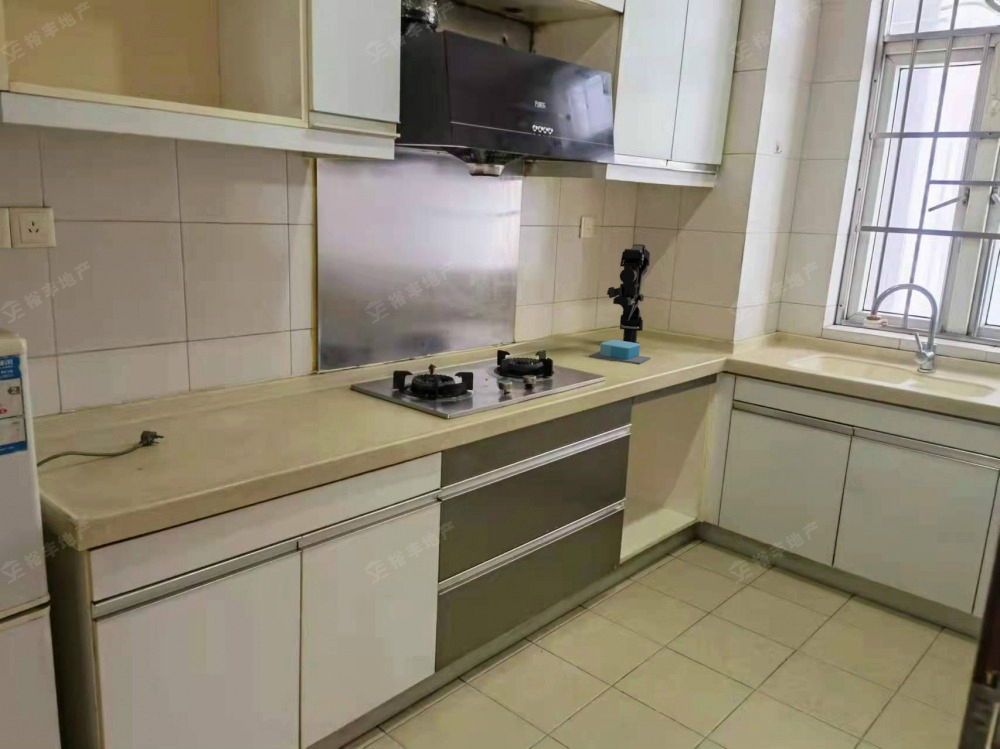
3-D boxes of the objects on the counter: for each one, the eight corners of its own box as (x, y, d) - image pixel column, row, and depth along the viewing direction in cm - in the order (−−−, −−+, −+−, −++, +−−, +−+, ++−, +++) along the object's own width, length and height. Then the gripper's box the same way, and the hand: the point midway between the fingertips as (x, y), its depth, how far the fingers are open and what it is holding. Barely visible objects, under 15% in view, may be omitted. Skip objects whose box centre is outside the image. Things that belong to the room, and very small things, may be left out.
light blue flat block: (612, 350, 295) (598, 355, 286) (613, 339, 294) (599, 343, 285) (640, 355, 289) (626, 360, 279) (641, 343, 288) (627, 348, 278)
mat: (601, 351, 295) (601, 350, 295) (650, 359, 286) (650, 357, 286) (589, 356, 285) (589, 355, 285) (639, 364, 276) (640, 362, 276)
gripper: (619, 277, 306) (616, 315, 309) (602, 281, 290) (599, 321, 294) (645, 280, 301) (642, 318, 304) (629, 283, 285) (626, 324, 288)
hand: (626, 320), depth 298 cm, fingers closed
